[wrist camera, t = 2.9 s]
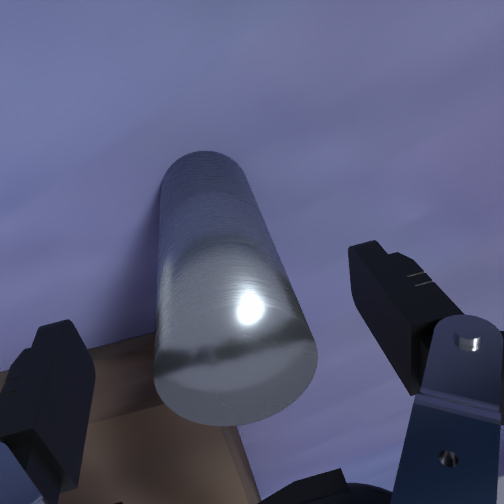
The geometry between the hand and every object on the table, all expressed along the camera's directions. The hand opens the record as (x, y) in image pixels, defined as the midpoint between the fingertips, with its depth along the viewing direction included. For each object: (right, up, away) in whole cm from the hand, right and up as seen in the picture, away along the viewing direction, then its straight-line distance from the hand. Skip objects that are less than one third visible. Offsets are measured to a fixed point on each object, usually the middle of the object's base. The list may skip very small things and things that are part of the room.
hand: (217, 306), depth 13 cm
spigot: (-1, +4, +7) cm, 9 cm away
